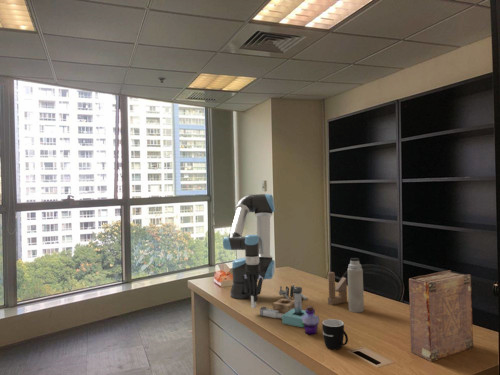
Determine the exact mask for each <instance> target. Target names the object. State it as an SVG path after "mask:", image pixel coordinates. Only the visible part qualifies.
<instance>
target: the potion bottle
mask: <svg viewBox="0 0 500 375" xmlns="http://www.w3.org/2000/svg"><path fill="white" fill-rule="evenodd" d="M305 310H306V313H307V315H304V316H302V321H303V322H302V326H303V325H304V326H303V327H302V328H304V333H305V335H309V336H311V335H312V336H314V335H316V334H318V333H317V331H318V326H319V323H320V317H319V316H318V315H315V313H316V311H315V310H316V309H315V308H314V306H312V305H311V306H310V305H307V306H306V308H305ZM313 313H314V315H313Z"/></svg>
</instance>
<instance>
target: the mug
mask: <svg viewBox="0 0 500 375" xmlns="http://www.w3.org/2000/svg"><path fill="white" fill-rule="evenodd" d="M321 325H322V336H323V341H324V345H325V347H326V348H327V349H329V350H333V349H337V350H340V349H341V348H342V347H344V346H346V345H348V342H349V337H348V333H347V332H346V331H345V322H343V320H340V319H335V318H334V319H333V318H329V319H328V318H327V319H325V320H323V321H322V324H321ZM344 337H345V338H344ZM344 339H345V341H344Z"/></svg>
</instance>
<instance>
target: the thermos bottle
mask: <svg viewBox="0 0 500 375" xmlns="http://www.w3.org/2000/svg"><path fill="white" fill-rule="evenodd" d="M347 267H348V268H347V303H348V311H349V312H352V313H363V312H364V311H365V305H364V303H365V300H364V298H365V297H364V274H363V272H364V269H363V268H362V264H361V263H360V257H359V258H358V257H351V258H349V264H348V266H347Z"/></svg>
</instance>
